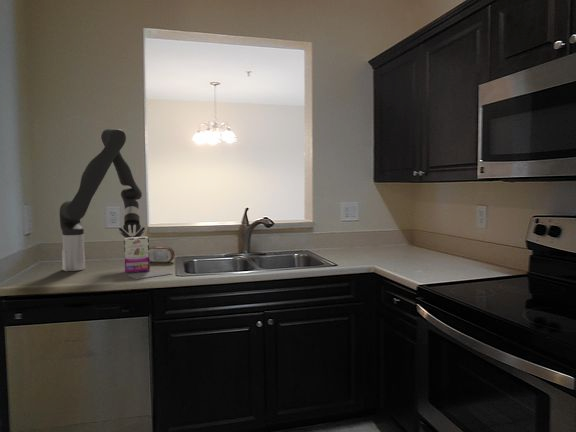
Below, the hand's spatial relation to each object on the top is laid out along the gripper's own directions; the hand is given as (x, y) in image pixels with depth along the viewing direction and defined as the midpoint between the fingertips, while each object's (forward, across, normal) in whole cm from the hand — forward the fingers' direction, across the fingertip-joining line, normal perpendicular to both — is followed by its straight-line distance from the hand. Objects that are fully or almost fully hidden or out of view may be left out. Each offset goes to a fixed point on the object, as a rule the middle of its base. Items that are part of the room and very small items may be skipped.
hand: (132, 243), depth 207 cm
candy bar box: (+15, +2, +2) cm, 16 cm away
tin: (+1, +14, +16) cm, 21 cm away
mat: (+23, +7, -6) cm, 25 cm away
